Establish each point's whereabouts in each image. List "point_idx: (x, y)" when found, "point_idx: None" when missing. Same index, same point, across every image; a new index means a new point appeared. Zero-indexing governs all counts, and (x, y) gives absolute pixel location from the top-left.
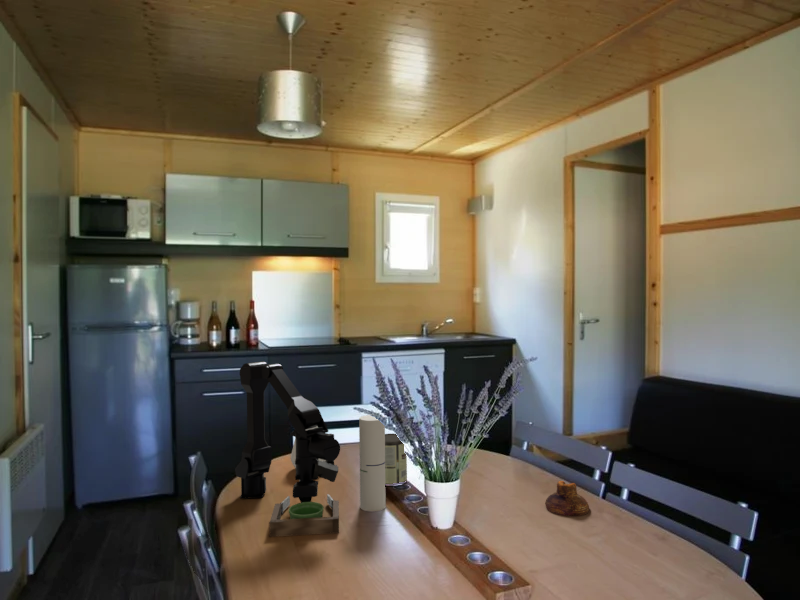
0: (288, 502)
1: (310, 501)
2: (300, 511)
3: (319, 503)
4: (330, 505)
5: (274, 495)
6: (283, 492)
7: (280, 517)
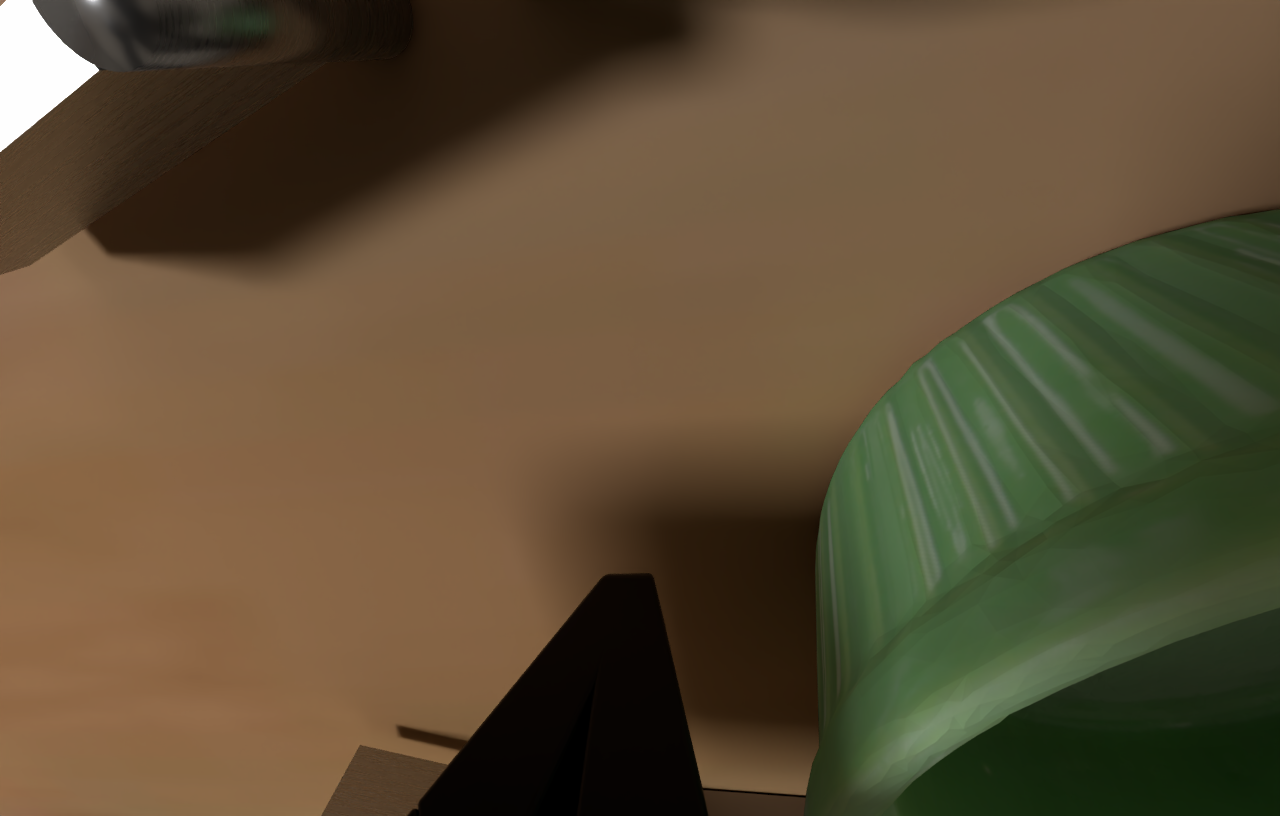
0: (381, 805)
1: (707, 813)
2: (920, 778)
3: (1154, 638)
4: (184, 143)
5: (161, 810)
6: (52, 759)
7: (751, 803)
